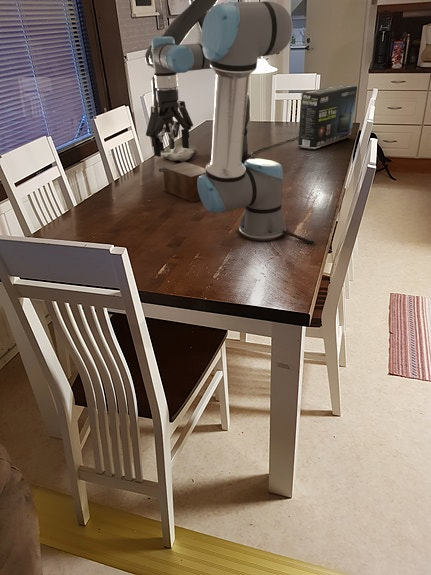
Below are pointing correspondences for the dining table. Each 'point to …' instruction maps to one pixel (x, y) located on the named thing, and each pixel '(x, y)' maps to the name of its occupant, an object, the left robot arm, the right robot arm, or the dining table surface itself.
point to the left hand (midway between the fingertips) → (166, 149)
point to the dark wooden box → (183, 180)
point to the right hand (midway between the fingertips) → (172, 151)
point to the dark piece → (164, 174)
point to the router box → (326, 115)
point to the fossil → (179, 153)
